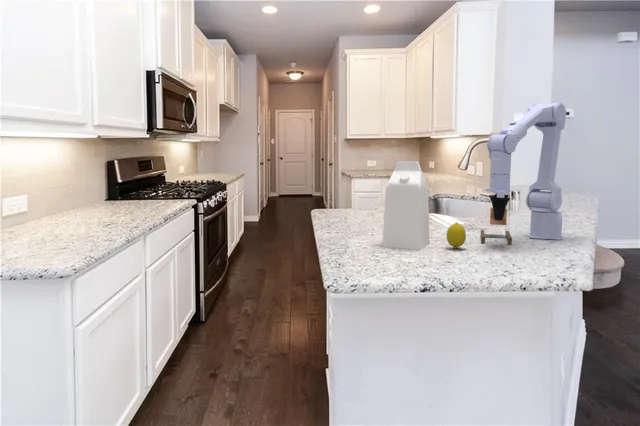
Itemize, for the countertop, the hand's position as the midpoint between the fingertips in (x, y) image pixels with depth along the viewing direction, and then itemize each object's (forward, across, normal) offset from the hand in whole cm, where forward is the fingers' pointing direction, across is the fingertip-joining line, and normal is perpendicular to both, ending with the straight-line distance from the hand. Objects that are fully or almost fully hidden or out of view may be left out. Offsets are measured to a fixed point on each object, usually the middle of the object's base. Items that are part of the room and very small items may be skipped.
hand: (498, 219), depth 147 cm
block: (+1, 0, 0) cm, 1 cm away
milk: (+9, +6, -27) cm, 29 cm away
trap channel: (+8, -10, 0) cm, 13 cm away
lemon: (+9, +8, -12) cm, 17 cm away
